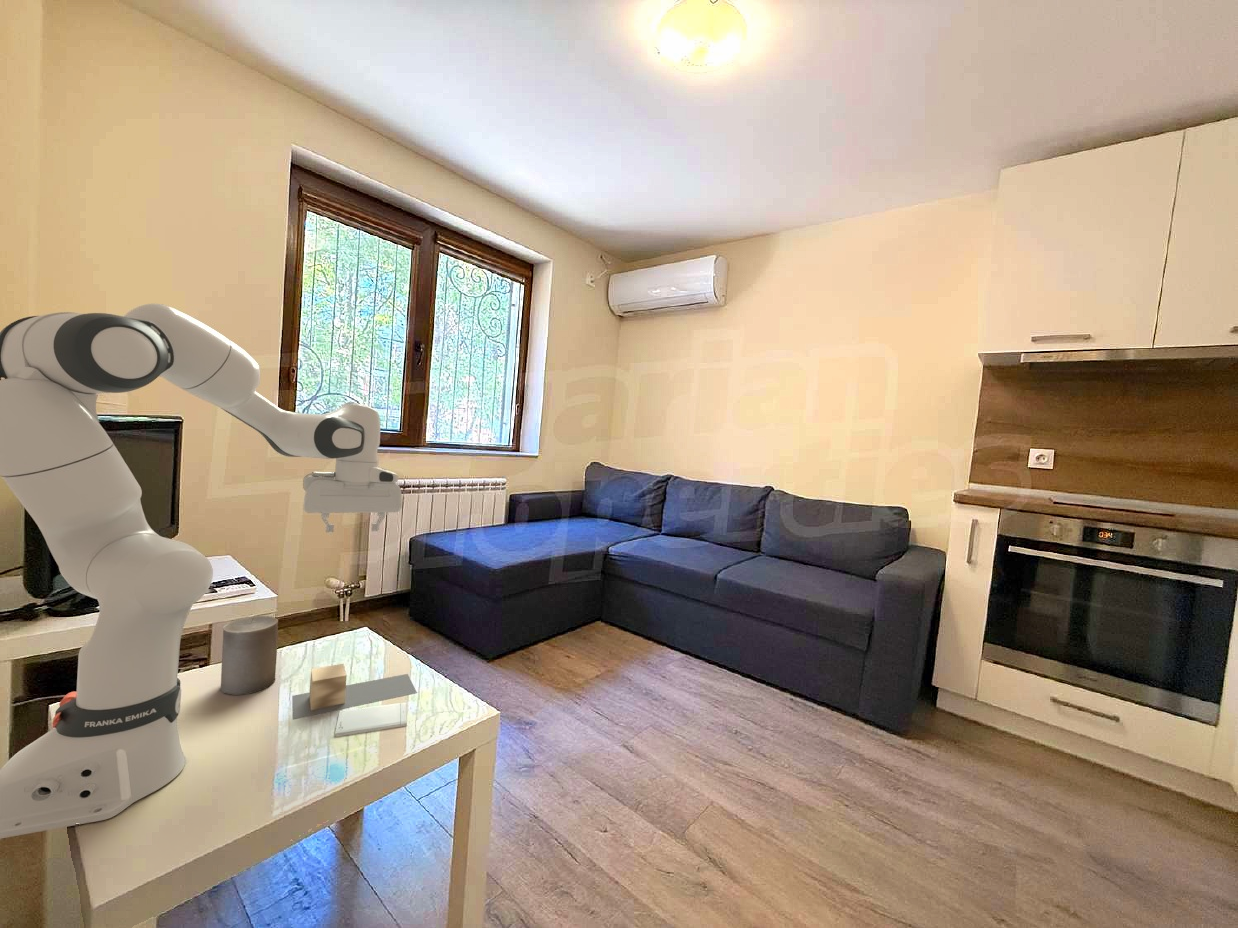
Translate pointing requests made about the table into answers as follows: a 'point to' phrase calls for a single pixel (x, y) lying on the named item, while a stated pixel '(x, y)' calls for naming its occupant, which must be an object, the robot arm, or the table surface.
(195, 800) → the table surface
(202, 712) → the table surface
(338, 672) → the oak block
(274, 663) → the pillar candle
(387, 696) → the rubber mat
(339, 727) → the hard drive
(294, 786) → the table surface
